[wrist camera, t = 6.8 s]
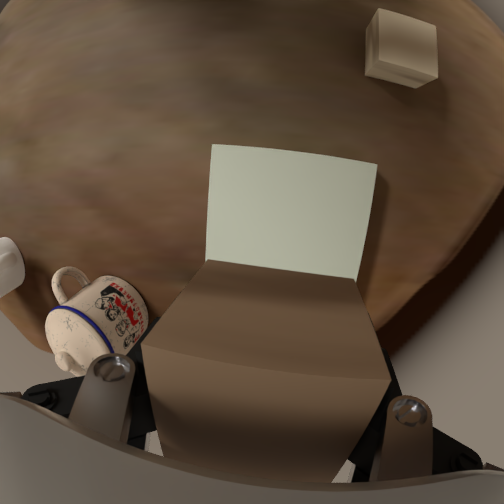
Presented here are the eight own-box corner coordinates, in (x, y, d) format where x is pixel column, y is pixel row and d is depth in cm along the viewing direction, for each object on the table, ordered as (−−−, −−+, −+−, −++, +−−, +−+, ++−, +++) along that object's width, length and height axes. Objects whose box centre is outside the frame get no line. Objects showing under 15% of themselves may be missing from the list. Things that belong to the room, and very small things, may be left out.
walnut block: (208, 259, 10) (140, 343, 5) (353, 278, 10) (391, 379, 5) (205, 369, 12) (165, 463, 7) (323, 386, 11) (326, 488, 7)
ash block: (365, 29, 20) (378, 7, 15) (415, 43, 19) (435, 26, 14) (364, 75, 21) (378, 60, 17) (415, 88, 21) (438, 77, 16)
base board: (221, 145, 25) (212, 144, 22) (368, 162, 24) (377, 164, 21) (213, 280, 29) (204, 293, 27) (343, 297, 28) (348, 313, 25)
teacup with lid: (165, 329, 32) (118, 397, 22) (115, 345, 35) (67, 402, 24) (112, 237, 30) (38, 279, 19) (67, 266, 32) (3, 307, 21)
